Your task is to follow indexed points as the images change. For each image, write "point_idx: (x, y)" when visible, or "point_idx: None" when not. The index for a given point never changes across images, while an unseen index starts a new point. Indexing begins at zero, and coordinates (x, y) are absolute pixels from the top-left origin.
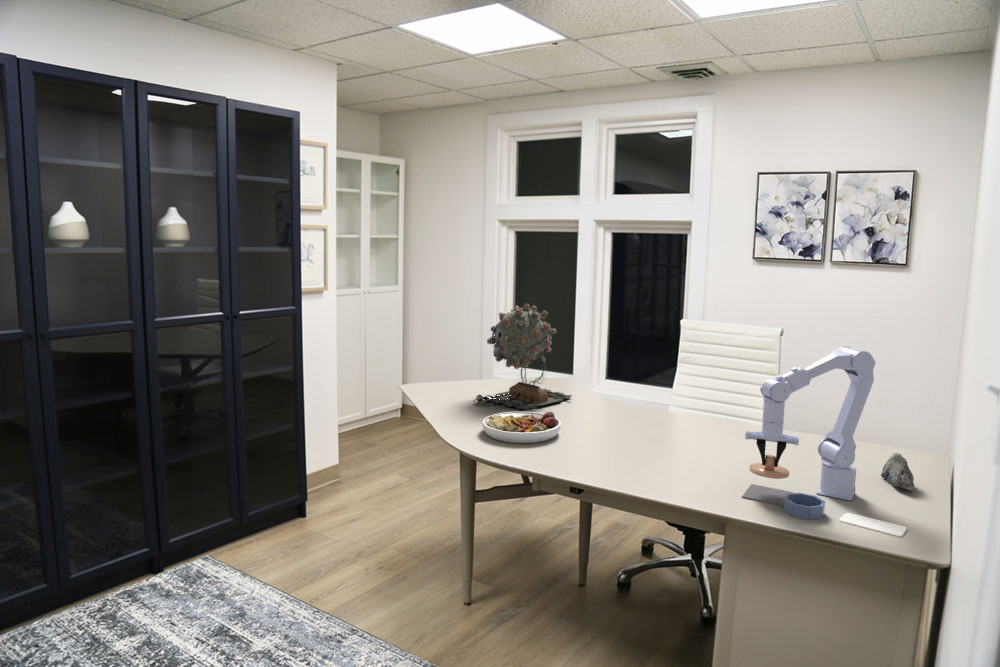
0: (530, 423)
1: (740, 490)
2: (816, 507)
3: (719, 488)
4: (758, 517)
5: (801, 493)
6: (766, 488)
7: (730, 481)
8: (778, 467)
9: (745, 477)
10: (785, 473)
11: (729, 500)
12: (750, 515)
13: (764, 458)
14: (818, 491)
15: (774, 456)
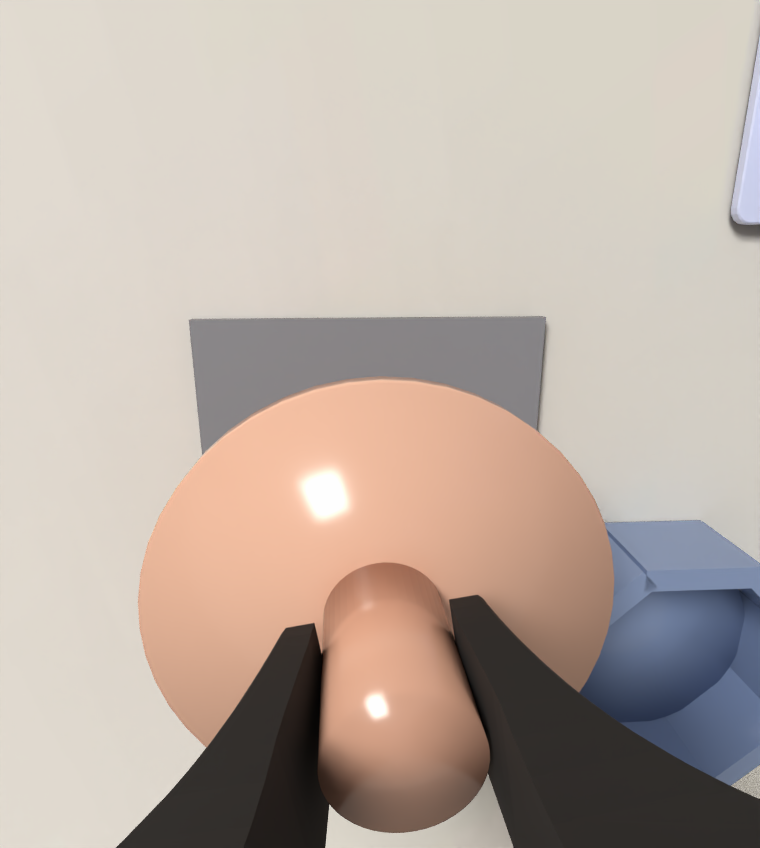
0: None
1: (161, 492)
2: (756, 761)
3: (10, 543)
4: (400, 837)
5: (659, 579)
6: (333, 360)
7: (3, 328)
8: (469, 466)
9: (68, 118)
10: (573, 633)
11: (169, 710)
12: (354, 836)
13: (324, 826)
14: (754, 181)
15: (463, 729)
